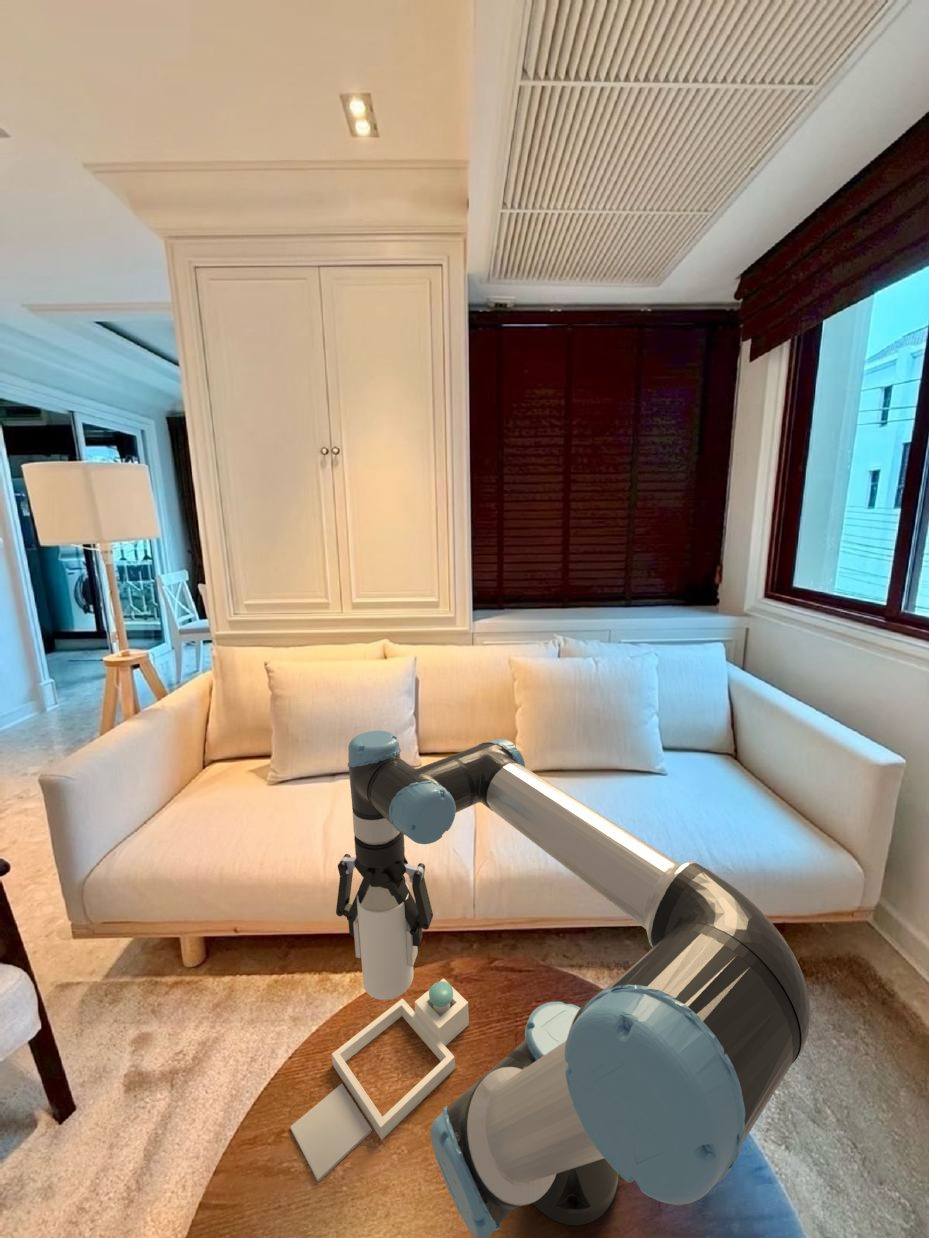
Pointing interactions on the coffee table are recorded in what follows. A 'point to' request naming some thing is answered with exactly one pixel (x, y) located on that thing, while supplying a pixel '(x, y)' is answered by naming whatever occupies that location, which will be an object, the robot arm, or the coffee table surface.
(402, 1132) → the coffee table surface
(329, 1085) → the coffee table surface
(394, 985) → the cup
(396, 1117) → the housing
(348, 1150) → the pad
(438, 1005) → the mint mushroom button
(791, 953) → the robot arm
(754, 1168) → the coffee table surface
